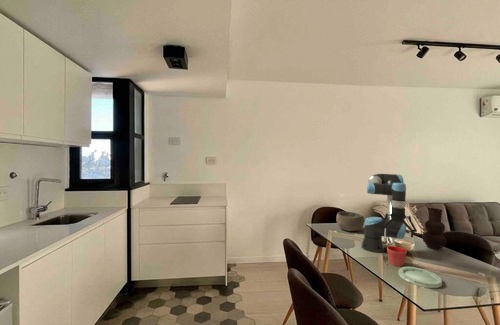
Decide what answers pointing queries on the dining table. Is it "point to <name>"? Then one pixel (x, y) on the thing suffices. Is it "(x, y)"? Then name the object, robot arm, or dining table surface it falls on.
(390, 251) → the flower pot
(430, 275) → the round tray
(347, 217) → the bowl
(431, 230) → the vase
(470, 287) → the dining table surface
